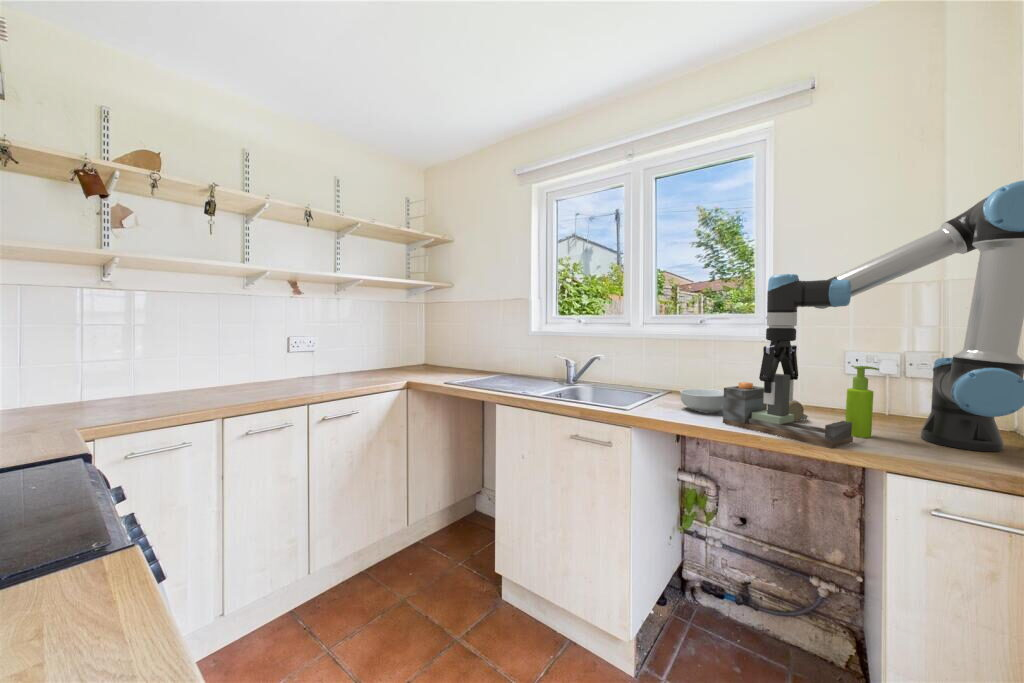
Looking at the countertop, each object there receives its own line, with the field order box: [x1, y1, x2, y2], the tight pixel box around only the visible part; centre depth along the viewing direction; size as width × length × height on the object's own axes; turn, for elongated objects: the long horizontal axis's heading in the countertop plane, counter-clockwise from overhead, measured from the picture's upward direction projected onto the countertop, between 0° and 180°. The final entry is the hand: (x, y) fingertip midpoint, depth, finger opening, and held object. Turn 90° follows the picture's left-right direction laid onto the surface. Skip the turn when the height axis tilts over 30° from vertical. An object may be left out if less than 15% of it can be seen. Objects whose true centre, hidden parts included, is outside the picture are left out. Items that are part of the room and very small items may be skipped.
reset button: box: [738, 381, 754, 390], centre depth 134 cm, size 4×4×3 cm
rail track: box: [722, 385, 854, 449], centre depth 124 cm, size 30×12×12 cm, turn 30°
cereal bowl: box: [679, 388, 724, 414], centre depth 153 cm, size 17×17×7 cm
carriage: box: [752, 373, 795, 425], centre depth 126 cm, size 8×8×14 cm
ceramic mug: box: [789, 399, 809, 422], centre depth 140 cm, size 11×8×8 cm
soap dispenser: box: [845, 365, 880, 439], centre depth 120 cm, size 6×7×20 cm
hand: (778, 402), depth 125 cm, fingers open, 9 cm apart
